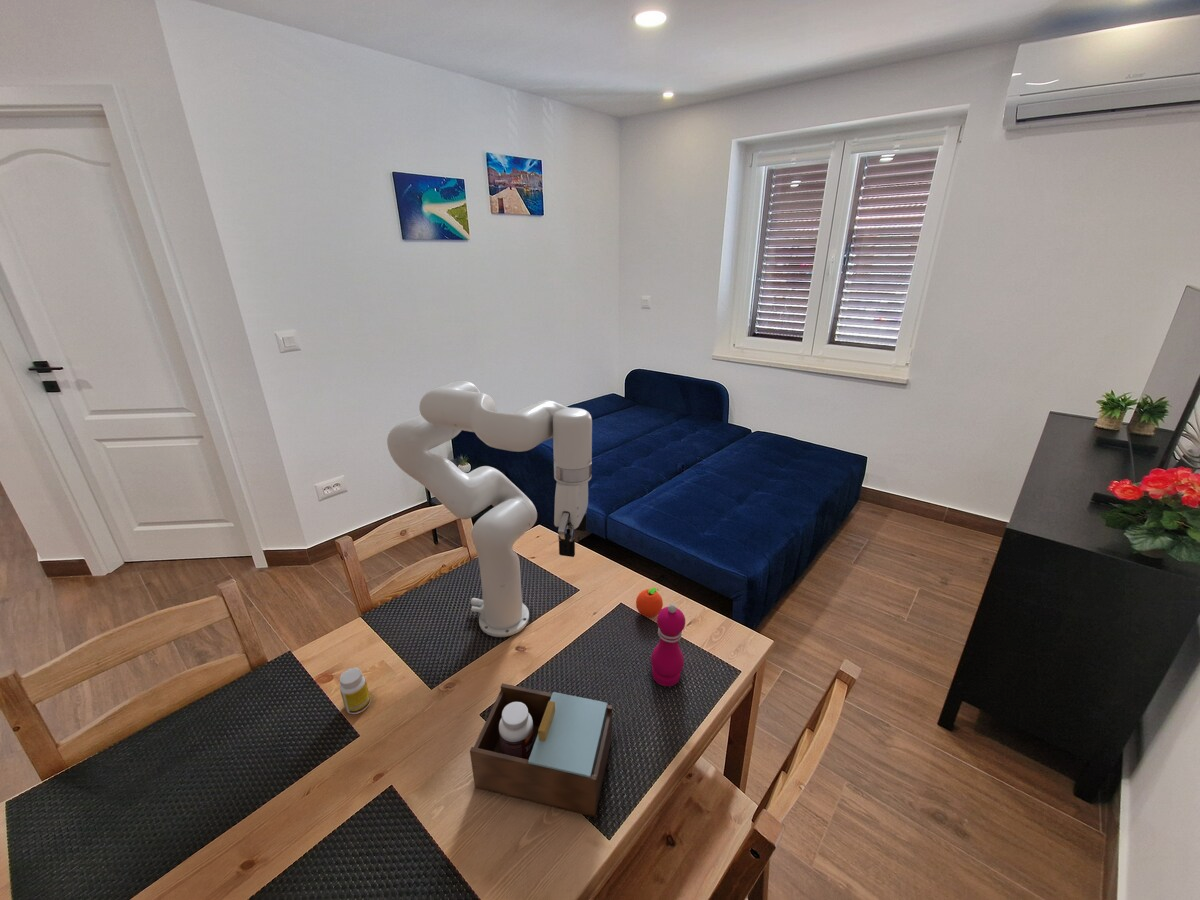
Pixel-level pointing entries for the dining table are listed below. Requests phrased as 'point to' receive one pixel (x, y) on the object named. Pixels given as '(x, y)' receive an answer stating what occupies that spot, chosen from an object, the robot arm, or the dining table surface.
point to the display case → (531, 779)
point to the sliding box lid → (569, 734)
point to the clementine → (649, 602)
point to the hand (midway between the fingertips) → (573, 542)
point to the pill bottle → (516, 731)
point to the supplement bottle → (354, 691)
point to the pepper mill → (668, 647)
